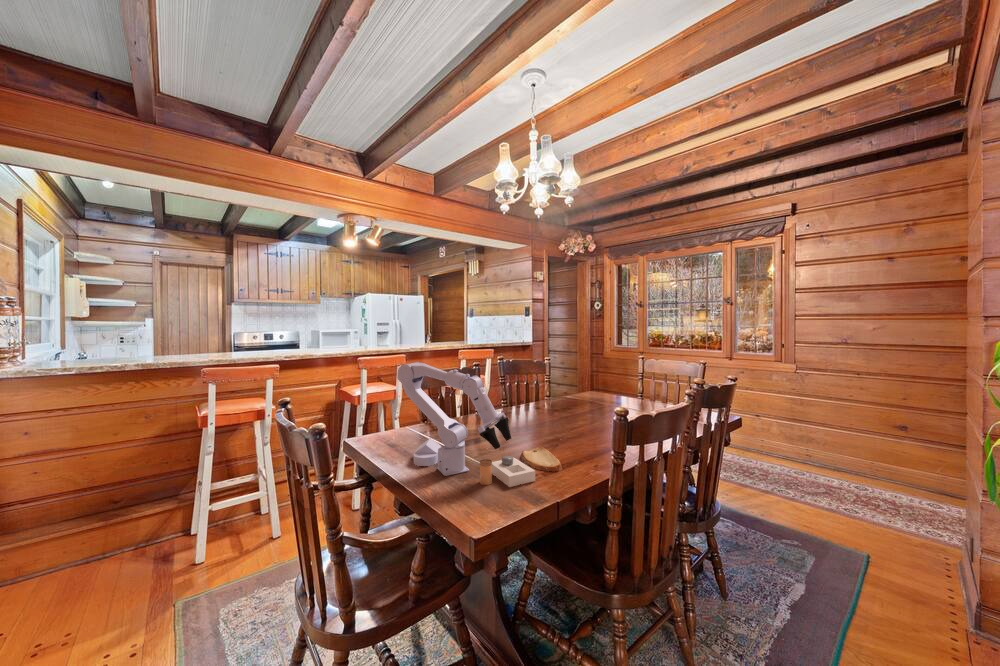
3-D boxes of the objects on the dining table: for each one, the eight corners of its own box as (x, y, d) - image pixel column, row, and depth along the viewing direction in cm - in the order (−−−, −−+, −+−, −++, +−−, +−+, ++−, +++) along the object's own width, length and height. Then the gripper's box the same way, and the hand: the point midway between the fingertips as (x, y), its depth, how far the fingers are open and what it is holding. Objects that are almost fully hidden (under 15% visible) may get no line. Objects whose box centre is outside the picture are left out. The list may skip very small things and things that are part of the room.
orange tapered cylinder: (483, 486, 126) (482, 464, 125) (477, 481, 129) (477, 460, 129) (494, 483, 127) (494, 462, 127) (488, 478, 131) (488, 458, 131)
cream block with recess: (509, 487, 125) (509, 470, 124) (489, 472, 137) (489, 456, 137) (535, 481, 129) (535, 464, 129) (514, 466, 142) (514, 452, 141)
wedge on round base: (419, 454, 155) (411, 466, 142) (419, 437, 155) (410, 448, 142) (441, 454, 155) (435, 466, 142) (441, 437, 155) (435, 448, 142)
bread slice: (560, 474, 136) (560, 463, 136) (512, 467, 142) (512, 457, 142) (569, 456, 153) (569, 447, 153) (525, 451, 159) (525, 442, 159)
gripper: (481, 410, 126) (501, 448, 124) (503, 397, 138) (522, 432, 136) (466, 418, 130) (485, 455, 128) (489, 405, 142) (507, 438, 140)
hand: (503, 443), depth 132 cm, fingers open, 7 cm apart
